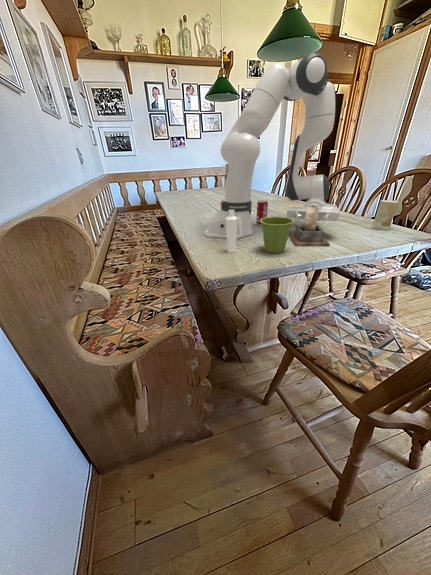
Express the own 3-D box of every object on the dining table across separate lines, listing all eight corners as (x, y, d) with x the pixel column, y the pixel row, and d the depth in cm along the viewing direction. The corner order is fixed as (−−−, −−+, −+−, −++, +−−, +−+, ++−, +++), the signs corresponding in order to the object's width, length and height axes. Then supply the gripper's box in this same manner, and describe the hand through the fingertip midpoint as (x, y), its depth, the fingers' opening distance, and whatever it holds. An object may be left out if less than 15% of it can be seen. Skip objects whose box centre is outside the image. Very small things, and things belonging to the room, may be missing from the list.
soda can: (266, 223, 127) (267, 199, 122) (266, 226, 123) (268, 201, 117) (255, 223, 128) (257, 199, 122) (256, 226, 123) (257, 201, 118)
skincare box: (373, 229, 113) (381, 201, 107) (372, 226, 116) (379, 199, 110) (389, 230, 111) (398, 202, 105) (388, 227, 114) (396, 200, 108)
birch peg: (303, 240, 99) (308, 209, 93) (301, 236, 103) (305, 207, 97) (315, 240, 99) (320, 209, 93) (312, 236, 102) (317, 207, 97)
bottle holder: (294, 246, 96) (296, 233, 94) (288, 236, 107) (290, 224, 105) (329, 246, 95) (331, 233, 93) (319, 236, 106) (321, 224, 104)
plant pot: (281, 243, 99) (284, 215, 94) (296, 254, 89) (300, 222, 83) (253, 246, 97) (255, 217, 92) (265, 257, 87) (267, 225, 81)
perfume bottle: (229, 253, 91) (229, 212, 84) (223, 250, 94) (223, 210, 87) (239, 251, 93) (240, 210, 85) (233, 248, 96) (234, 208, 89)
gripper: (289, 202, 109) (285, 208, 98) (340, 204, 102) (341, 211, 91) (287, 216, 112) (283, 224, 101) (337, 219, 105) (337, 228, 94)
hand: (311, 218), depth 96 cm, fingers open, 8 cm apart
